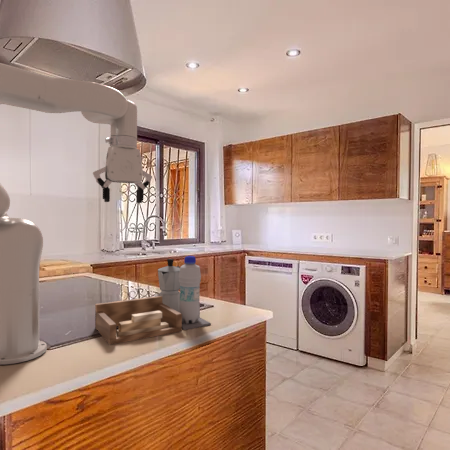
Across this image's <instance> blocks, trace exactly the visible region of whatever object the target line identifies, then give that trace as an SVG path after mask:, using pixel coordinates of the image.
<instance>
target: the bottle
mask: <svg viewBox="0 0 450 450" xmlns="http://www.w3.org/2000/svg"><path fill="white" fill-rule="evenodd" d="M183 260H184V262H183V263H184V264H182V265H181V266H179V267H180V273H179V282H180V289H179V292H180V307H179V313H181V314H182V322H183V323H184V322H186V323H187V324H188V323H189V320H191V322H192V323H194V322H197V321H198V320H199V318H201V317H200V316H201V307H200V305H201V304H200V303H201V302H200V297H201V296H200V291H201V290H200V288H201V287H200V285H201V279H202V274H201V266H200V265H199V264H198V265H197V264H196V262H197V261H196V256H195V255H187V256H185V257H184V259H183Z"/></svg>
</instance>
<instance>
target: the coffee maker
mask: <svg viewBox="0 0 450 450" xmlns="http://www.w3.org/2000/svg"><path fill="white" fill-rule="evenodd" d="M166 261H167V266H163V267H160V268H158V269H157V277H158V285H159V290H160V292H159V295H158V296H162V303H163V304H165V305H167V306H169V307H170V308H172V309H174V310H176V311H178V312H179V307H180V282H179V273H180V267H181V266H179V265H177V266H176V265H175V266H174V258H167V259H166Z"/></svg>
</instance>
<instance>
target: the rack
mask: <svg viewBox="0 0 450 450" xmlns="http://www.w3.org/2000/svg"><path fill="white" fill-rule="evenodd" d="M94 305H95V307H94V308H95V309H94V313H95V315H94V316H95V317H94V321H95V324H94V325H95V326H94V329H96V331H97V330H98V331H99V332H100V333H99V332H98V331H97V332H98V333H99V334H100V335H101V337H102V338H103V339H104V340H105V341H106V342H107V344H108V345H110V346H111V345H115V344H122V343H127V342H131V341H132V342H133V341H137V340H142V339H147V338H152V337H153V338H154V337H159V336H163V335H169V334H173V333H179V332H182V330H183V329H182V314H181V313H179V312H178V311H176V310H174V309H172V308H170V307H169V306H167V305H165V304H163V303H162V296H159V295H157V296H149V297H141V298H133V299H125V300H124V299H123V300H118V301H117V300H115V301H109V302H108V301H107V302H100V303H99V302H98V303H95V304H94ZM152 311H161V312H162V318H161V322H166V323H168V324H169V328H165V329H160V330H154V331H149V332H143V333H137V334H132V335H126V336H121V337H117V327H119V322H123V321H130V320H132V314H139V313H145V312H152Z"/></svg>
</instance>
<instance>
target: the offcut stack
mask: <svg viewBox="0 0 450 450" xmlns="http://www.w3.org/2000/svg"><path fill="white" fill-rule="evenodd" d="M161 318H162V312H161V311H152V312H145V313H139V314H132V320H130V321H123V322H119V326H118V329H116V337H121V336H126V335H132V334H137V333H143V332H149V331H154V330H160V329H165V328H169V324H168V323H166V322H161Z"/></svg>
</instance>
